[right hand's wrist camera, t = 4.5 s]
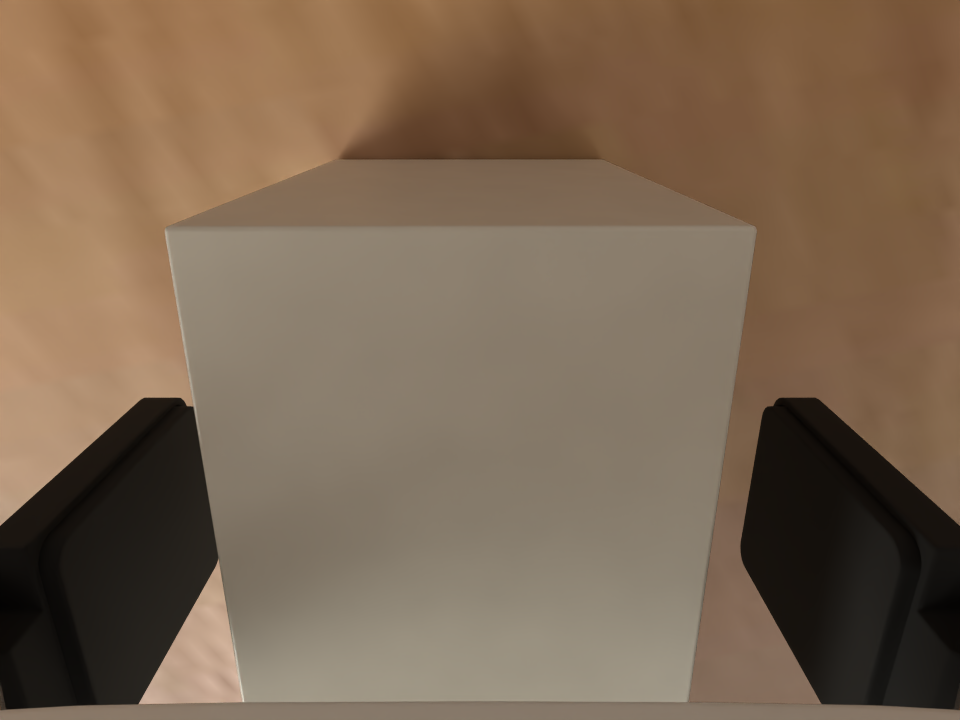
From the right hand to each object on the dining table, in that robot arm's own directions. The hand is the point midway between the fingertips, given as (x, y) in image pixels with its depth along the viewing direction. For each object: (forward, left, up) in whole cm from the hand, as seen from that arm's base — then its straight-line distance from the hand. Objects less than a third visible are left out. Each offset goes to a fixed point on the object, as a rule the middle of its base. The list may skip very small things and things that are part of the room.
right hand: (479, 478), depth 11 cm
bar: (+22, -25, -4) cm, 33 cm away
